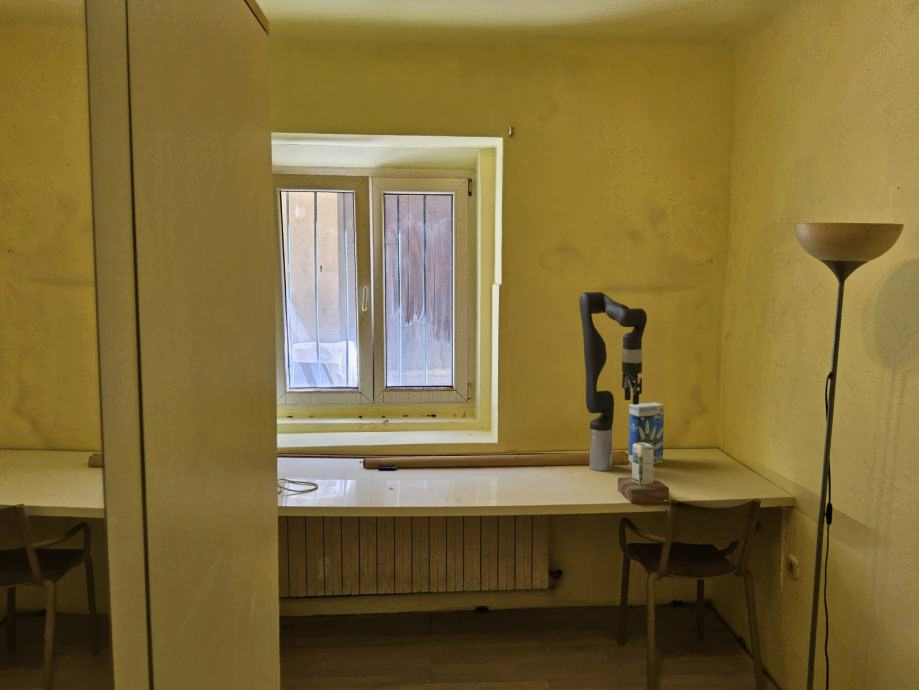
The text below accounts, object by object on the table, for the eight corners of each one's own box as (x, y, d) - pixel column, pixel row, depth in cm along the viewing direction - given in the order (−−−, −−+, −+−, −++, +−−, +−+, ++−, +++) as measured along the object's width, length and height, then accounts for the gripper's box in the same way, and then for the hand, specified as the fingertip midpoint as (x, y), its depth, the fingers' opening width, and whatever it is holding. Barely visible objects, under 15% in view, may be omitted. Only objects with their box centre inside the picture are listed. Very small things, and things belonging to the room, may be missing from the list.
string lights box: (637, 466, 278) (638, 407, 276) (627, 461, 285) (628, 403, 283) (663, 462, 283) (664, 404, 280) (653, 458, 290) (654, 401, 287)
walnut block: (617, 490, 248) (618, 477, 247) (653, 488, 249) (653, 476, 249) (631, 503, 234) (631, 489, 233) (668, 501, 235) (668, 487, 235)
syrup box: (631, 481, 243) (631, 443, 242) (644, 479, 245) (645, 441, 243) (640, 485, 238) (640, 447, 236) (653, 483, 240) (654, 445, 238)
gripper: (616, 358, 255) (615, 399, 256) (629, 363, 241) (629, 406, 242) (634, 357, 256) (634, 398, 257) (648, 362, 241) (648, 405, 243)
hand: (631, 402), depth 250 cm, fingers open, 8 cm apart
